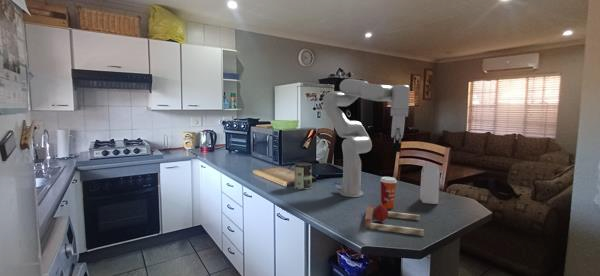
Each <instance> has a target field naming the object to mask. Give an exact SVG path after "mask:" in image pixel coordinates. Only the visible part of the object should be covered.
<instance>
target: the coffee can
mask: <svg viewBox="0 0 600 276" xmlns="http://www.w3.org/2000/svg"><path fill="white" fill-rule="evenodd" d="M293 165H294V189H296V188H298V189H297V190H300V189H307V190H310V189H309V188H311V187H313V186H312V184H313V183H312V181H313V180H312V178H313V177H312V173H313V172H312V171H313V169H312V166H313V163H311V162H296V163H294V164H293ZM311 189H312V188H311Z"/></svg>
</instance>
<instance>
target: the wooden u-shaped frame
mask: <svg viewBox="0 0 600 276" xmlns="http://www.w3.org/2000/svg"><path fill="white" fill-rule="evenodd" d="M374 207H375V206H374V205H373V204H368V205H367V206H366V211H365V212H366V213H365V217H364V229H367V228H370V229H369V230H375V229H377V230H376V231H384V232H392V233H399V234H405V235H415V236H424V233H425V231H424V229H423V228H416V227H406V226H400V225H392V224H384V223H383V224H382V223H375V222H373V218H374ZM387 218H395V219H403V220H404V219H405V220H413V221H420V218H421V217H420V214H414V213H405V212H395V211H389V210H388V217H387Z"/></svg>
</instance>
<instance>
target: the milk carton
mask: <svg viewBox="0 0 600 276" xmlns="http://www.w3.org/2000/svg"><path fill="white" fill-rule="evenodd" d="M440 178H441V174H440V169H439V164H425V163H424V164H423V165H422V168H421V174H420V192H419V199H420V201H421V203H422V204H433V205H436V204H437V205H438V204H439V197H440V196H439V195H440V180H441V179H440Z"/></svg>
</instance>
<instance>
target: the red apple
mask: <svg viewBox="0 0 600 276" xmlns="http://www.w3.org/2000/svg"><path fill="white" fill-rule="evenodd" d="M373 210H374V215H373V217H374V218H375V219H376V220H377V221H378V222H379V223H383V222H384V221H385V220H387V219H388V218H389V217H388V211H389V209H386V208H385V207H384V206H383V204H382V203H381V202H380V203H379V205H377V206H376V207H375V208H373Z"/></svg>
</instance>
